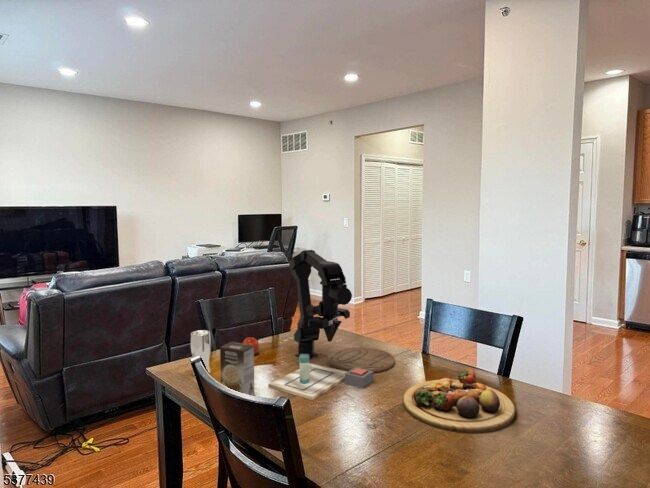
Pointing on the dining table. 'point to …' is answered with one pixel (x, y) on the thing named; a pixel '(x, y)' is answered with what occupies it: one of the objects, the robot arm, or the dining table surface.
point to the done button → (359, 372)
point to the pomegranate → (252, 343)
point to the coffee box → (237, 367)
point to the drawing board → (318, 384)
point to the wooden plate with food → (459, 404)
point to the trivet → (362, 359)
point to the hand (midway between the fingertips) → (329, 341)
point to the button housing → (358, 378)
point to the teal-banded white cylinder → (304, 368)
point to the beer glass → (201, 346)
